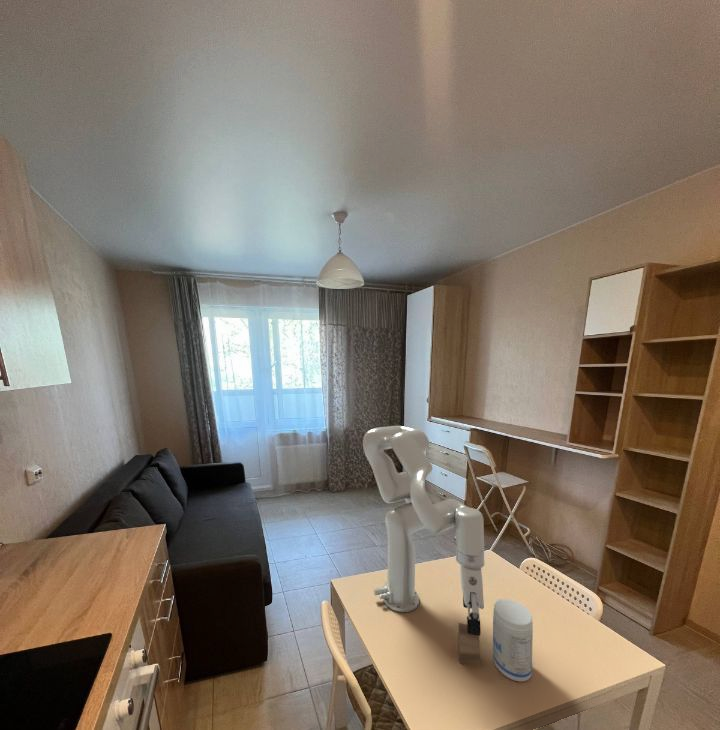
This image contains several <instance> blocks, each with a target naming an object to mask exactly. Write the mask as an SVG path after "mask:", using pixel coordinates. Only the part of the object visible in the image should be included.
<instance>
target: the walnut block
mask: <svg viewBox="0 0 720 730" xmlns="http://www.w3.org/2000/svg"><path fill="white" fill-rule="evenodd" d="M457 623H458V624H457V625H458V628H457V631H458V632H457V634H458V635H457V637H458V639H457V641H458V644H457V647H458V658H459V664H460V665H462V666H463V665H464V666H469V667H474V668H478V669H480V666H481V665H480V657H481V655H480V654H481V653H480V651H481V650H480V648H481V647H480V641H481V640H480V636H477V635H472V634H468V632H467V623H461V622H457Z"/></svg>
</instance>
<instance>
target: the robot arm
mask: <svg viewBox="0 0 720 730" xmlns="http://www.w3.org/2000/svg"><path fill="white" fill-rule="evenodd" d="M429 445H430V441H429V438H428V436H427V435H426V433H425V432H424V431H423V430H420V429H417V428H412V427H409V426H408V427H407V426H402V425H390V426H381V427H375V428H372V429H369V430H368V431H366V433H365V434H364V436H363V439H362V448H363V452H364V455H365V457H366V459H367V461H368V463H369V465H370V466H371V469H372V472H373V475H374V479H375V482H376V485H377V488H378V491H379V494H380V496H381V498H382V500H383V502H385V503H386V504H394V503H398V502H401V501H405V502H406V503H403V504H400V505H396V506H393V507H392V508H391V509H389V510H388V511H387V512H386V515H385V520H384V522H385V528H386V532H387V534H386V535H387V576H386V577H387V578H386V579H387V581H385V582H384V585H383V586H382V587H377V588H373V595H374V596H379V599H380V600H382V601H383V603H384V604H385V606H386V607H388V608H389V609H391V610H392V611H394V612H399V613H408V612H412V611H414V610H415V609H416V608H418V606H419V604H420V595H419V593H418V592H417V591H416V587H415V586H416V546H415V543H414V541H413V539H412V537H411V536H412V535H413V534H414V533H416V532H418V531H421V530H423V529H425V530H426V529H427V530H428V531H429V532H430V533H431V534H440V533H443V532H446V531H448V530H450V529H453V528H455V560H456V562H457V564H459V566H460V567H459V568H460V581H461V583H460V584H461V590H462V604H463V605H462V606H463V608H466V609H467V616H466V624H467V632H468V634H472V635H477V636H479V637H480V636H481V633H482V631H481V618H480V610H484V607H485V601H484V599H485V598H484V585H483V584H484V583H483V574H482V573H483V572H482V568H483V567H484V566H485V535H484V534H485V531H484V526H485V525H484V516H483V513H482V512H481V511H480V510H478V509H476V508H473V507H468V506H467V505H465V504H464V503H462V502H461V501H459V500H457V499H455V498H447V499H445V500H442V501H441V500H440V501H438V502H435V503H433V502H432V500H431V498H429V496H428V493H427V490H426V486H425V482H426V479H427V478H428V476H429V475H430V474H431V473H432V471H433V464H432V463H431V461H430V460H429V459H428V457H427V456H426V454H425V452H426V451H427V450H428V449H429ZM391 449H392V451H393V452H394V453H395V455H396V458H397V459H398V461H399V462H400V464H401V466H402V467H403V469H404V470H405V471H403V472H402V471H401V472H398V471H397V468H396V465H395V463H394V461H393V460H392V458H391V457H390V456H389V455H388V454H387V453H386V452H385V450H391Z"/></svg>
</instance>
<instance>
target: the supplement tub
mask: <svg viewBox="0 0 720 730" xmlns="http://www.w3.org/2000/svg"><path fill="white" fill-rule="evenodd" d="M492 614H493V615H492V617H493V619H492V620H493V621H492V660H493V662H494V664H495V666H496V668H497V669H498V671H499V672H500V673H501V674H502V675H504V676H505V677H506V678H508V679H509V680H512V681H515V682H520V683H521V682H526V681H528V680H530V679H531V677H532V676H533V675H532V674H533V638H534V637H533V627H534V626H533V616H532V614H531V611H530V610H529V609H528V608H527V607H526V606H524V605H523V604H522V603H520V602H518V601H516V600H512V599H508V598H500V599H497V600H496V601H495V602H494V605H493V612H492Z"/></svg>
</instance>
